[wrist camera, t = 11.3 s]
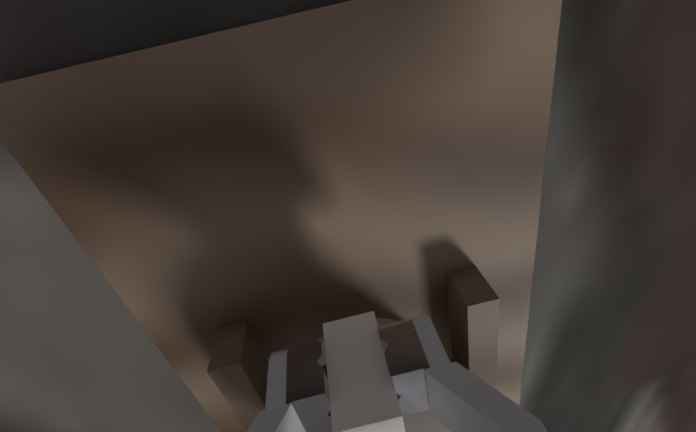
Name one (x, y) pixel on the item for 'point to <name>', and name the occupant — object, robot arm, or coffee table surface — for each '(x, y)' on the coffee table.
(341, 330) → the white capsule with handle
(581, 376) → the coffee table surface
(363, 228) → the cradle board
